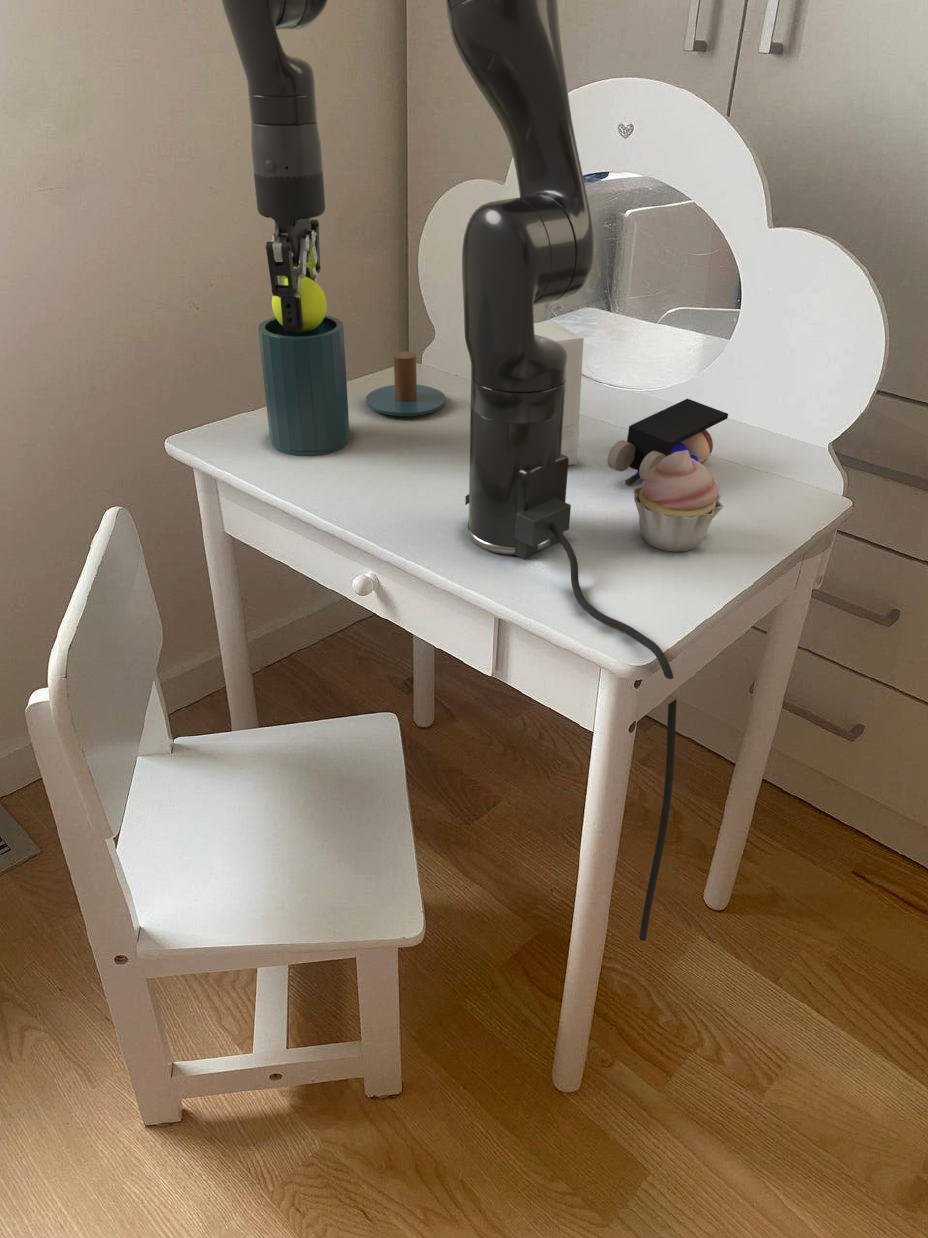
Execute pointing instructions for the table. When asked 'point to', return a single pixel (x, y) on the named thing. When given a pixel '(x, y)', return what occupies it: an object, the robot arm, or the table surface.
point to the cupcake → (677, 503)
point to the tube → (305, 387)
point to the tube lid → (405, 392)
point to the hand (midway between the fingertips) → (300, 321)
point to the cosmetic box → (568, 383)
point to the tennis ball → (306, 305)
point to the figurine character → (666, 438)
